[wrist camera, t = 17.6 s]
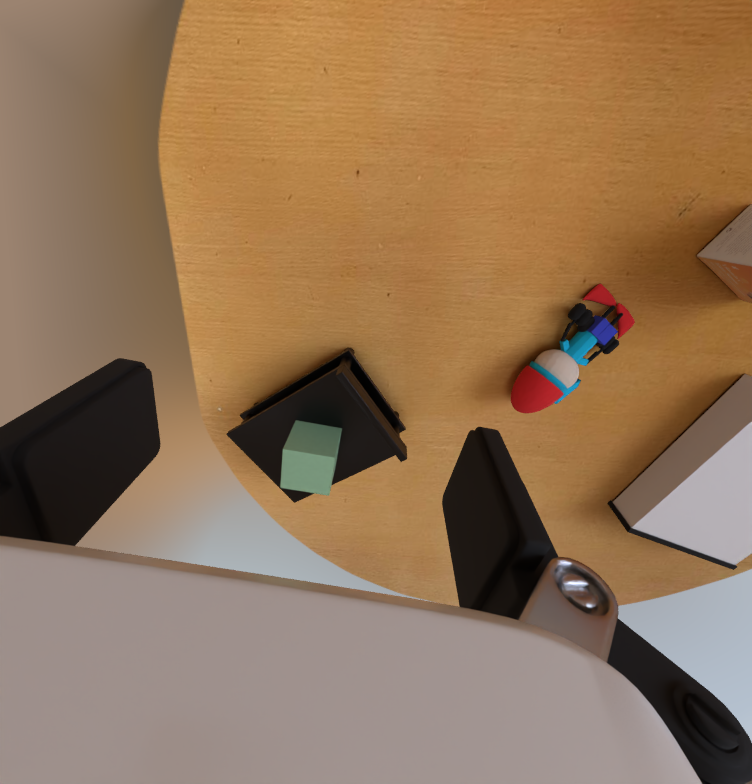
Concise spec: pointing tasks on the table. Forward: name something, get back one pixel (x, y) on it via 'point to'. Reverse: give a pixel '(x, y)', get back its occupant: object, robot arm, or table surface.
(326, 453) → the cube
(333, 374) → the plate
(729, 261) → the small box
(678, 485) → the disc drive
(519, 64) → the table surface
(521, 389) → the toy figure
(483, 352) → the table surface
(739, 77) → the table surface
